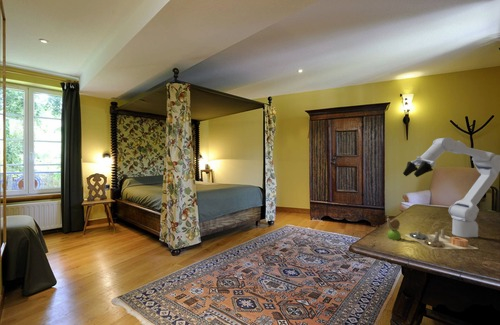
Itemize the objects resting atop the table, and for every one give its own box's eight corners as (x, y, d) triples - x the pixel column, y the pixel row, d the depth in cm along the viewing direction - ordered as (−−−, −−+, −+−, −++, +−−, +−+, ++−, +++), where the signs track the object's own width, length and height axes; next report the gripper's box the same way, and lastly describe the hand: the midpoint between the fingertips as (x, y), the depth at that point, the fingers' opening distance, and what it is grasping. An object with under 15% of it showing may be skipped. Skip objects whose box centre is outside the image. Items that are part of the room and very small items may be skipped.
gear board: (443, 236, 119) (443, 226, 119) (478, 251, 101) (478, 239, 101) (403, 236, 118) (404, 226, 118) (432, 251, 100) (432, 239, 100)
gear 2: (435, 241, 109) (435, 238, 109) (448, 247, 102) (449, 244, 102) (420, 241, 108) (420, 238, 108) (432, 247, 101) (432, 244, 101)
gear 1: (420, 234, 118) (420, 232, 118) (431, 239, 111) (431, 237, 111) (406, 234, 118) (406, 232, 118) (416, 239, 111) (416, 237, 111)
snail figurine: (382, 239, 115) (383, 214, 115) (395, 238, 116) (395, 214, 115) (390, 243, 110) (390, 217, 109) (403, 242, 110) (404, 217, 110)
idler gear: (459, 241, 109) (459, 236, 109) (471, 246, 103) (471, 241, 103) (446, 241, 109) (446, 236, 109) (458, 246, 103) (458, 241, 103)
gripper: (413, 151, 124) (395, 168, 123) (436, 149, 109) (415, 169, 109) (422, 161, 124) (403, 178, 124) (446, 160, 109) (425, 180, 109)
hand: (409, 175), depth 116 cm, fingers open, 7 cm apart
